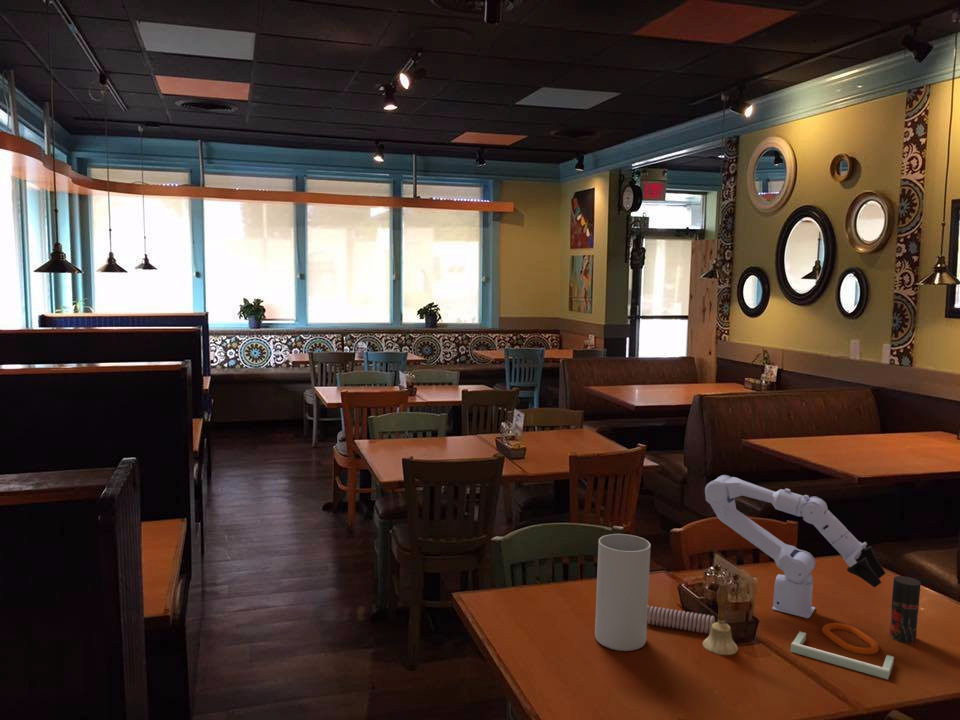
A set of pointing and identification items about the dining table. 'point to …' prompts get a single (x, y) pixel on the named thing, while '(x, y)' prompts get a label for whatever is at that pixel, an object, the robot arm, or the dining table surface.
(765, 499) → the robot arm
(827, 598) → the dining table surface
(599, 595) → the cylinder vase
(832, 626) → the orange oval ring
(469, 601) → the dining table surface
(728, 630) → the hand bell
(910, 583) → the deodorant
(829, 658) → the bar pull handle
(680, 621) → the coil
